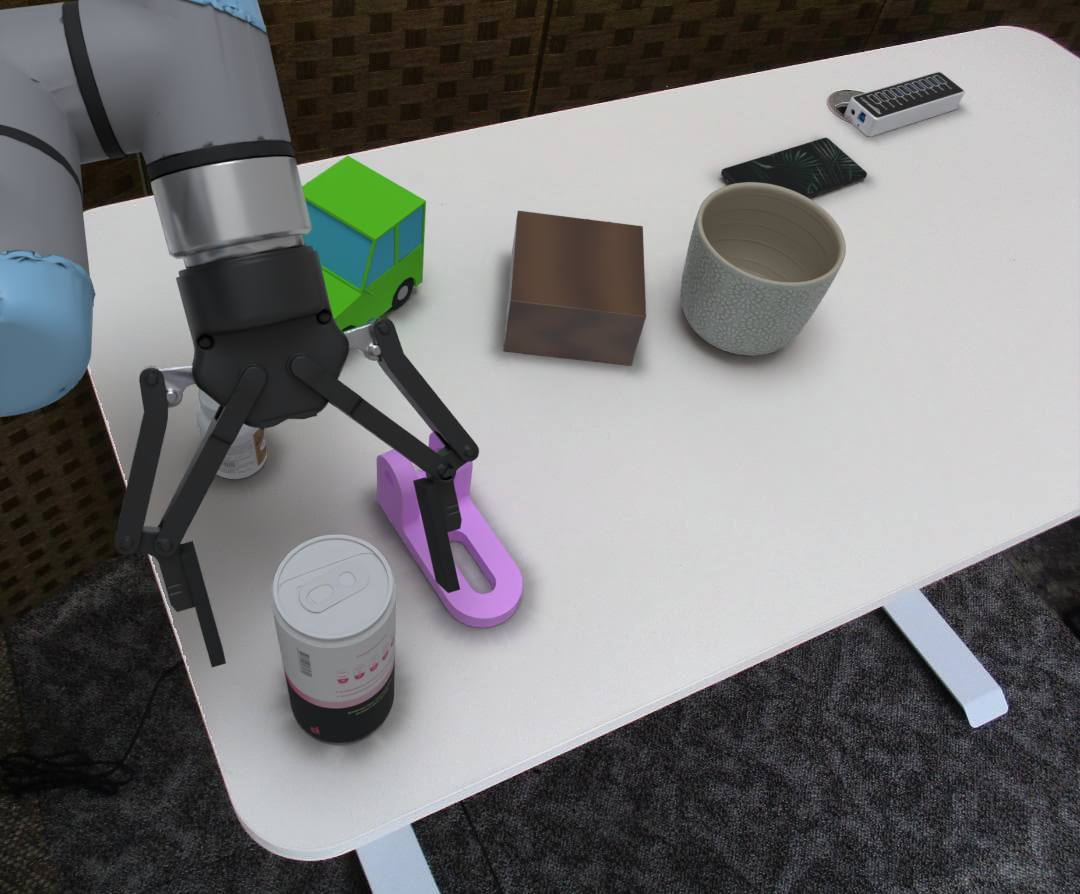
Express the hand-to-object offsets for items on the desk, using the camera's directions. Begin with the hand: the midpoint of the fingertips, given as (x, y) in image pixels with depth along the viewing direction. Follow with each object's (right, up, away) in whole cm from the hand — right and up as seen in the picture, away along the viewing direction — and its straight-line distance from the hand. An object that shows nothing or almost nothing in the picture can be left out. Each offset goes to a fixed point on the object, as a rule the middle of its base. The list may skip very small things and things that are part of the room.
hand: (337, 621), depth 57 cm
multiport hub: (+53, +48, +56) cm, 91 cm away
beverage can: (-1, -6, +7) cm, 9 cm away
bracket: (+6, +2, +14) cm, 16 cm away
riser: (+14, +22, +30) cm, 40 cm away
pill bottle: (-11, +9, +17) cm, 22 cm away
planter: (+29, +21, +32) cm, 48 cm away
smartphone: (+38, +38, +46) cm, 70 cm away
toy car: (-6, +22, +27) cm, 35 cm away
